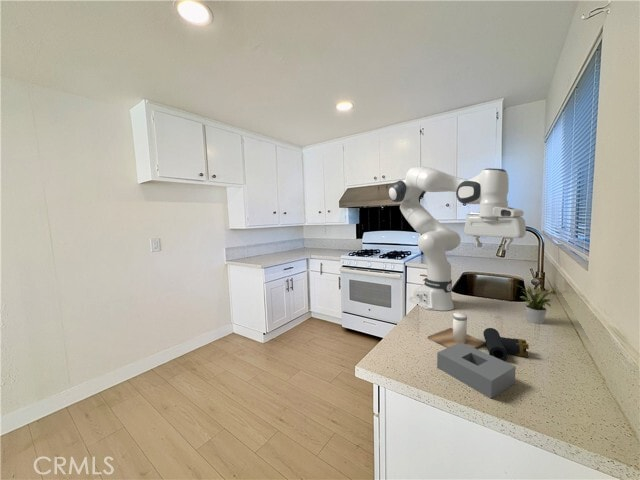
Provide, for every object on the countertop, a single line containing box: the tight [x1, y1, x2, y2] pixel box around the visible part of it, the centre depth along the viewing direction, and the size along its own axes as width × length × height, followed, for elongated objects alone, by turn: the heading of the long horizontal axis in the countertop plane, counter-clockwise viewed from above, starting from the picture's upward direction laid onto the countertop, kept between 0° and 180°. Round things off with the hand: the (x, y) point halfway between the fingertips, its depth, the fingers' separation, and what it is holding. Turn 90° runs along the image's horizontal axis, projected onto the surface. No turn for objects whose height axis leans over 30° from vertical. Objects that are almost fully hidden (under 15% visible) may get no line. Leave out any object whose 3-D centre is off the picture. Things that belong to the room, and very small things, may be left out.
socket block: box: [436, 342, 517, 399], centre depth 76 cm, size 16×12×5 cm
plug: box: [452, 312, 468, 344], centre depth 94 cm, size 4×4×10 cm
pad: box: [427, 327, 487, 349], centre depth 96 cm, size 14×14×1 cm
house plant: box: [516, 285, 554, 325], centre depth 110 cm, size 14×14×16 cm
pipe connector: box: [483, 327, 530, 362], centre depth 88 cm, size 12×5×15 cm
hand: (491, 248), depth 98 cm, fingers open, 8 cm apart
